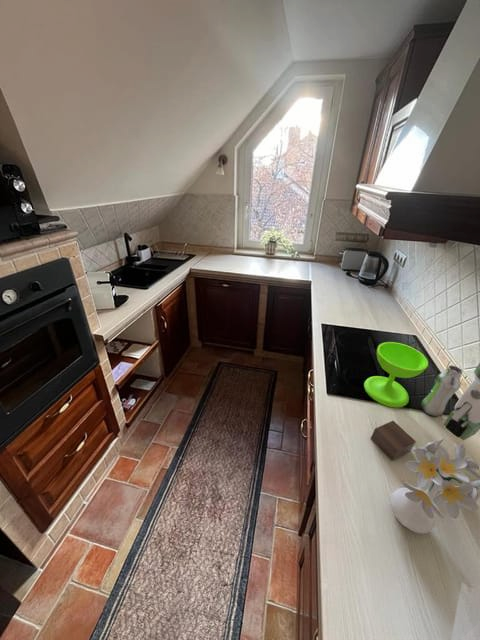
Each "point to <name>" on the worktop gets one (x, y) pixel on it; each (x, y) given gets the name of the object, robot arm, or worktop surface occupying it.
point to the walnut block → (392, 440)
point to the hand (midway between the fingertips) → (459, 428)
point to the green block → (471, 427)
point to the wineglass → (395, 373)
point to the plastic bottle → (442, 391)
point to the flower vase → (435, 487)
